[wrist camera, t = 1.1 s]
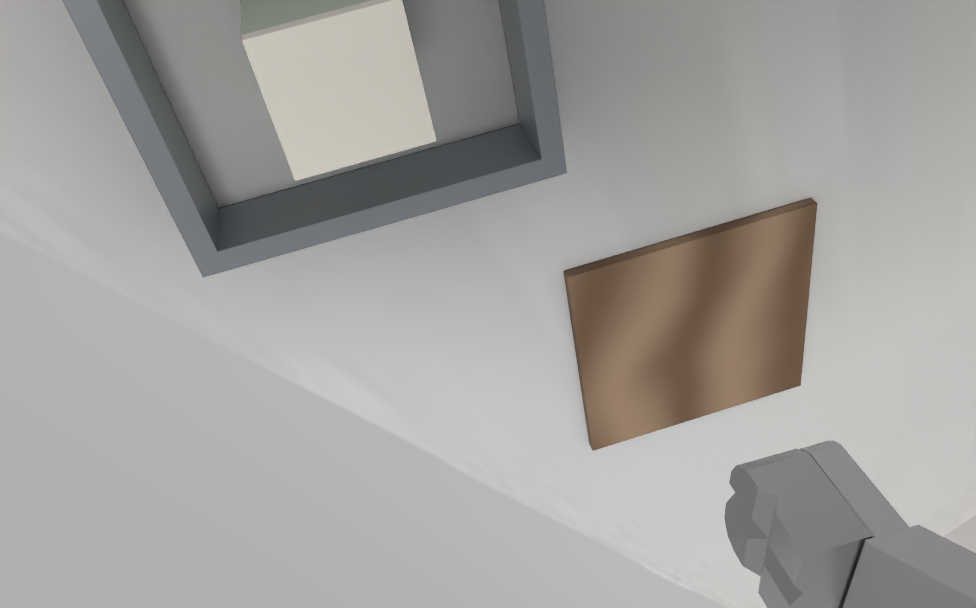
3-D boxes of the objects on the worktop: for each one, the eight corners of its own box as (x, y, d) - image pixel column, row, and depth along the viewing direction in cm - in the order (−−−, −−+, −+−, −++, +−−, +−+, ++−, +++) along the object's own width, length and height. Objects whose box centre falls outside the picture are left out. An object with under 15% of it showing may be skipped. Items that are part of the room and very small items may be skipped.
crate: (481, -275, 28) (507, -268, 26) (543, 137, 39) (566, 172, 36) (14, -161, 27) (-10, -142, 25) (205, 233, 37) (203, 277, 35)
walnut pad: (811, 198, 45) (817, 203, 44) (795, 379, 54) (800, 385, 53) (563, 271, 44) (567, 277, 43) (589, 443, 53) (592, 450, 52)
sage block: (368, -68, 32) (401, -3, 25) (400, 56, 35) (436, 141, 29) (239, -35, 31) (241, 40, 25) (283, 87, 34) (294, 181, 28)
